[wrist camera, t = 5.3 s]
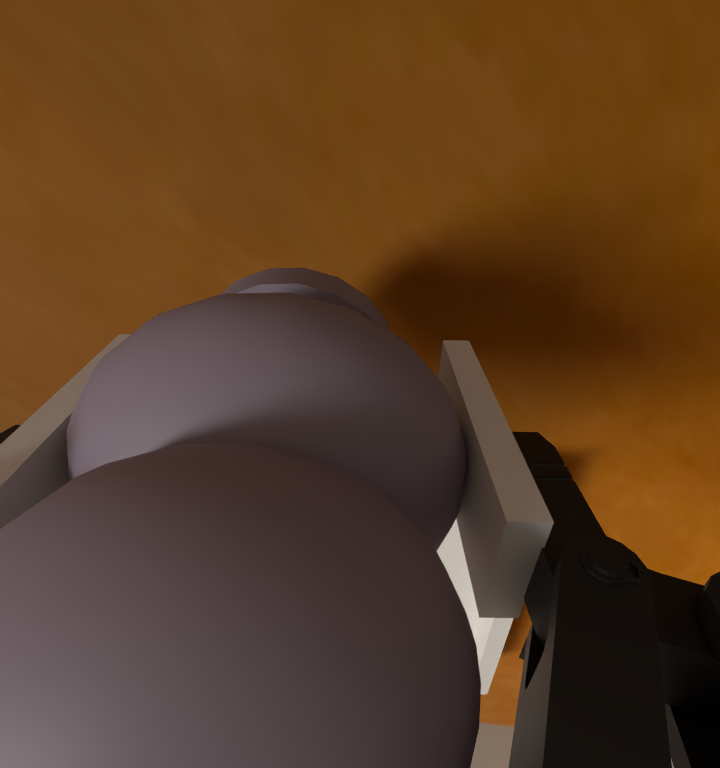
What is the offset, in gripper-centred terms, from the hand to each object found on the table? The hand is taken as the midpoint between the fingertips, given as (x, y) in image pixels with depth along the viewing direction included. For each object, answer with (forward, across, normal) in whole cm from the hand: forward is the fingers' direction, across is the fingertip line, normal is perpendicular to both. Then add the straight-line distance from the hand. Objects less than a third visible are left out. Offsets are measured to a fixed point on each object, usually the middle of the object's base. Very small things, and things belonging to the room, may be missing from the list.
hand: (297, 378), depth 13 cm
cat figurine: (+1, 0, 0) cm, 1 cm away
